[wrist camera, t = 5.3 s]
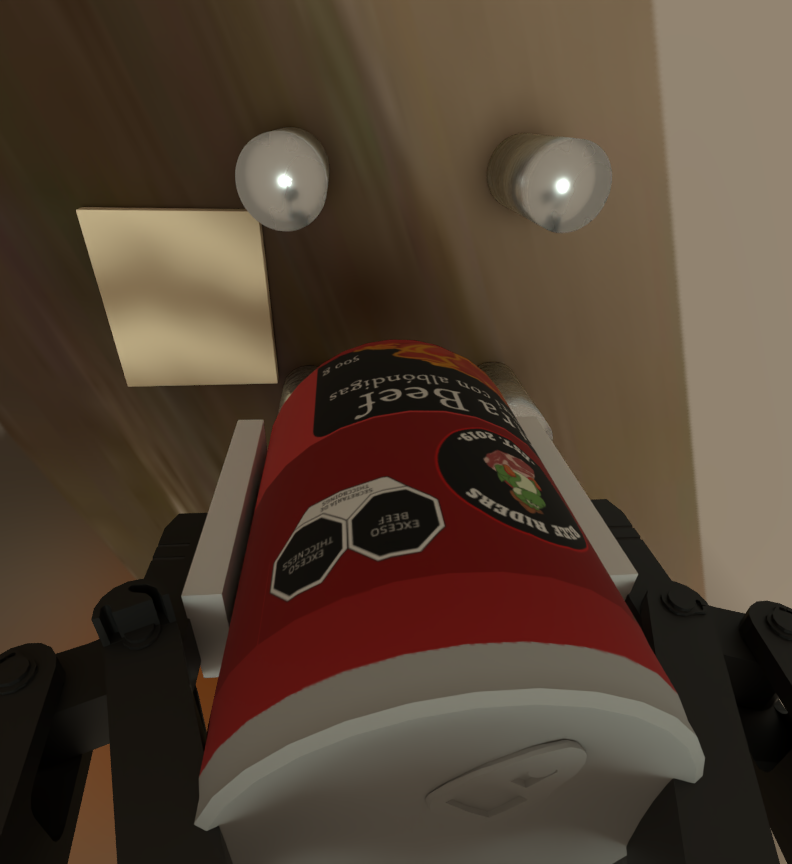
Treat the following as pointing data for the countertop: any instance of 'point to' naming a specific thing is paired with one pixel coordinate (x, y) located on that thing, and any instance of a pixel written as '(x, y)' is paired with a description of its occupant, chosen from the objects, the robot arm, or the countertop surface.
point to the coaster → (184, 294)
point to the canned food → (428, 642)
